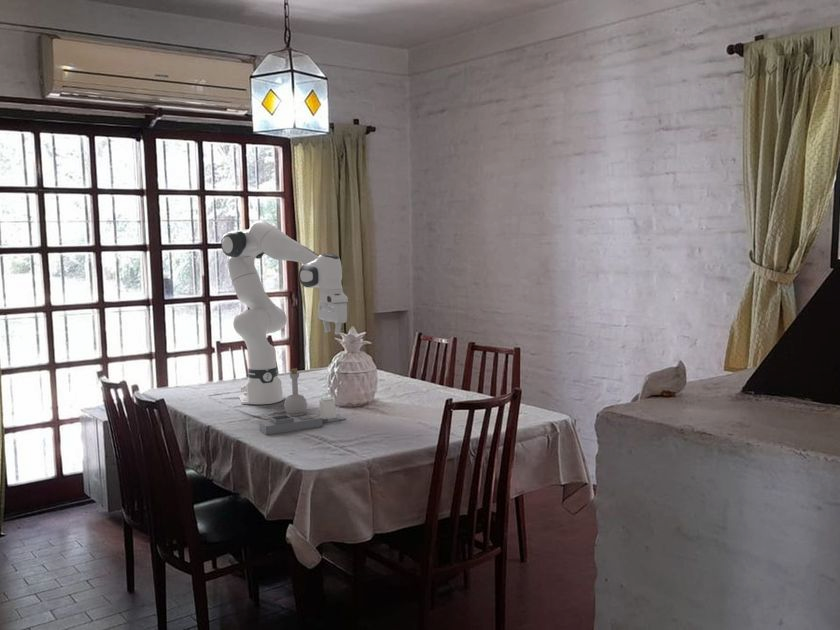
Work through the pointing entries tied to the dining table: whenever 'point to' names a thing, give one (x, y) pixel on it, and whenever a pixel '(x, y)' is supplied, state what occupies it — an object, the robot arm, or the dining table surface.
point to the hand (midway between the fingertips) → (332, 333)
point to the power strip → (290, 423)
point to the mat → (335, 418)
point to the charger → (327, 408)
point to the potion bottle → (295, 398)
